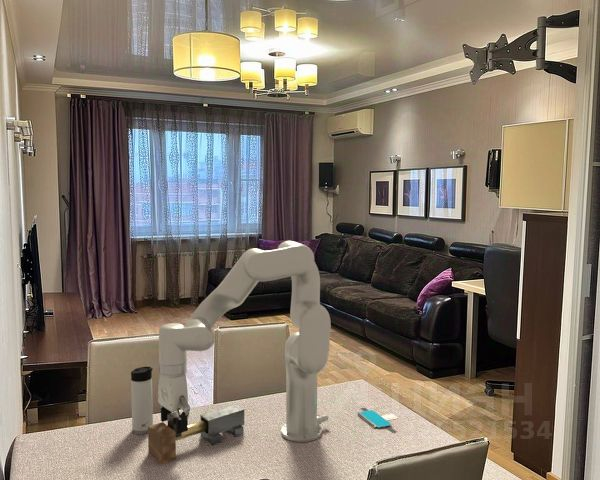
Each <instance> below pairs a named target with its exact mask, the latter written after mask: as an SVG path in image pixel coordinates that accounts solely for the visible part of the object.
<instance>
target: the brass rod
mask: <svg viewBox="0 0 600 480" xmlns="http://www.w3.org/2000/svg"><path fill="white" fill-rule="evenodd" d="M167 419H168V420H167V426H168V427H170V428H171V429H172V430H174V431H175V432H176V442H177V441H180V440H183V439H186V438H189V437H192V436H196V435H198V434H201V433H202V432H205V431H208V421H207V420H203V421H201V420H200V421H197V422H194V423H191V424H190V423H189V424H188V430H187V431H185V432H182V433H179V434H178V433H177V427H176V419H178V418H177V415H176V412H172V413H170V414H167Z"/></svg>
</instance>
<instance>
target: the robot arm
mask: <svg viewBox="0 0 600 480" xmlns="http://www.w3.org/2000/svg"><path fill="white" fill-rule="evenodd" d="M285 278H291V300H290V313H289V318H290V321H291V323H292V324H293V326H295V327H296V328H297V329H298V331H297V332H294V333H292V334H290V335H289V336H288V338H287V339H286V341H285V345H284V361H285V370H286V371H285V373H286V377H285V378H286V383H285V384H286V385H285V386H286V388H285V389H286V391H285V392H286V394H285V396H286V397H285V398H286V400H285V401H286V402H285V406H286V407H285V408H286V410H285V414H286V416H285V418H286V419H285V424H284V425H282V427H281V429H280V433H281V436H282V437H283V438H284V439H286V440H289V441H292V442H296V443H307V442H312V441H315V440H317V439H319V438H320V437H321V436H322V435H323V434H322V433H323V430H322V429H323V428H322V427H321V426H320V425H321V424H322V423H324V422H327V421H329V416H328V414H326V413H325V414H323V415H320V414H319V413H318V373H320V372H321V371H323V369H324V368H325V367H326V366H327V362H328V360H329V352H330V344H331V343H330V342H331V341H330V340H331V329H332V328H331V326H332V324H331V317H330V313H329V311H328V310H327V308H326V307H325V306H323V305H322V304H321V302H320V301H321V299H320V298H321V278H320V271H319V268H318V266H317V264H316V261H315V254H314V252H313V250H312V249H311V248H310V247H309V246H307V245H306V244H303V243H300V242H297V241H293V240H286V241H283V242H281V243H280V244H279V245H278V246H277V248H276V249H271V250H263V249H260V248H256V247H255V248H249V249H246V251H245V252H244V253H242V255H241V256H240V257H239V259H238V260H237V261H236V262H235V264H234V265H233V266H232V267H231V269H230V271H229V272H228V273H227V274H226V276H225V277H224V278H223V280H222V281H221V282H220V284H218V286H217V287H216V288H215V289H214V290H213V291H211V292H210V294H208V295H207V297H206V298H205V299H203V300H202V301H201V302H200V304H199V305H198V307H197V308H196V309H195V310H194V312H193V313H192V314H191V315H190V317H188V320H187V321H186V323H185V325H184V324H182V323H176V322H172V323H165V324H163V325H161V326H160V327H159V329H158V358H159V359H158V360H159V365H158V367H159V373H158V383H157V386H158V387H157V401H158V404H159V407H160V421H161V422H163V423H165V422H168V419H167V414H170V413H173V412H176V415H177V418H178V419H176V427H177V433H178V434H179V433H182V432H185V431H187V430H188V425H189V423H188V422H189V421H188V420H189V416H190V410H191V406H190V404H189V394H188V383H187V376H186V374H187V371H188V367H187V363H188V361H187V358H188V357H187V351H190V352H191V351H192V352H205V351H207V350H209V349H210V348H212V347H213V345H214V344H215V341H216V336H215V332H214V330H213V327H214V326H215V324H216V323H218V321H219V319H221V318H222V316H224V315H225V314H226V313H227V312H229V311H230V310H232V309H235V308H237V307H239V306H241V305H242V304H243V303H244V302H245V300H246V299H247V297H249V295H250V294H251V293H252V291H253V290H254V288H255V287H256V286H257V284H258V283H259V282H270V281H271V282H272V281H277V280H281V279H285ZM181 411H182V412H181Z"/></svg>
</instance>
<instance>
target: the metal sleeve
mask: <svg viewBox="0 0 600 480" xmlns="http://www.w3.org/2000/svg"><path fill="white" fill-rule="evenodd" d="M203 420H207V421H208V431H205V432H202V433H200V438H201V439H203V440H204V441H205V442H207V443H208V444H209V445H211V446H215V445H218V444H221V443H222V433H224V432H226V433H227V434H229V435H230V436H232V437H233V438H238V437H241V436H244V432H245V431H244V426H245V409H244V408H243V407H241V406H239V405H238V404H237V403H236V404H232V405H229V406H225V407H222V408H219V409H215V410H212V411H209V412H206V413H203V414H200V421H203Z"/></svg>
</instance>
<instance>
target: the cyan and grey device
mask: <svg viewBox="0 0 600 480" xmlns="http://www.w3.org/2000/svg"><path fill="white" fill-rule="evenodd" d="M360 409H361V410H362V411H360V412H357V416H358V417H359V418H360V419H362V420H363V421H364V422H366V424H368V425H369V426H370V427H372V428H373V429H375V428H379V429H387V430H388V431H390V432H391V433H393V434H394V433H397V431H396V430H395V429H394V428H393V427H391V426H392V425H393V424H392V423H391V422H389V421H391V420H392V421H393V420H397V419H399V418H398V416H396V415H395V414H393V413H390V414H384V415H380V414H379V413H377V412H376V411H375V410H372V409H370V410H369V409H367V408H366V407H360Z"/></svg>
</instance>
